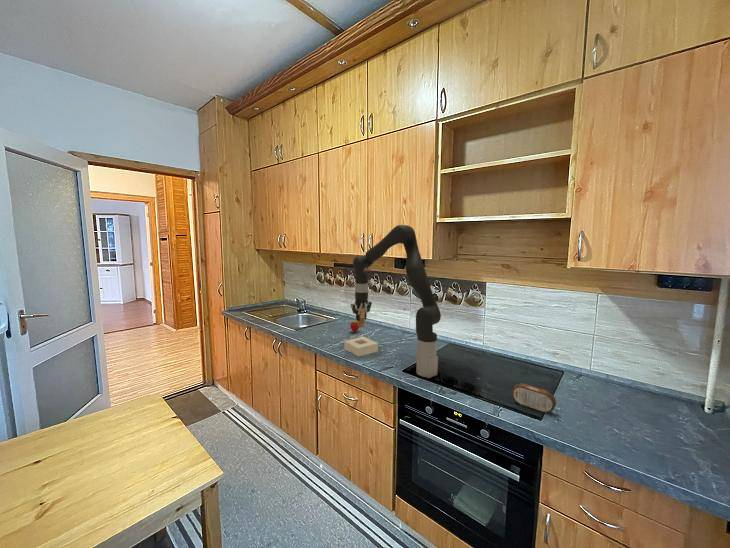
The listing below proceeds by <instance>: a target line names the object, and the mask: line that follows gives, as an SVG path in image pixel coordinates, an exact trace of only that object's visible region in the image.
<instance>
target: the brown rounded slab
mask: <svg viewBox="0 0 730 548" xmlns="http://www.w3.org/2000/svg"><path fill="white" fill-rule="evenodd" d="M511 395H512V397H513V400H514V401H515V402H516V403H518V404H519V405H521V406H523V407H525V408H528V407H529V408H528V409H531V408H532V410H534V409H535V410H534V411H537V410H538V411H537V412H540V411H541V412H540V413H544V414H549V413H551V412H552V411H554V410H555V408H556V406H557V400H556V398H555V396H554V395H553V393H551V392H550V391H548V390H545V389H542V388H539V387H536V386H533V385H529V384H527V383H517V384H515V385H514V386H513V388H512V390H511Z"/></svg>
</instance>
